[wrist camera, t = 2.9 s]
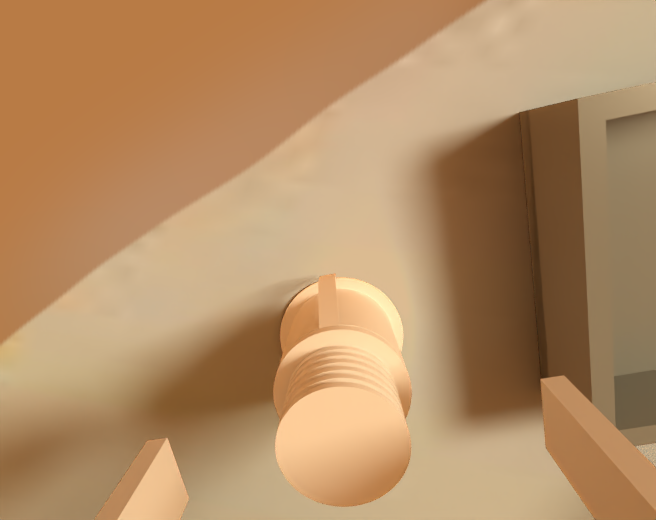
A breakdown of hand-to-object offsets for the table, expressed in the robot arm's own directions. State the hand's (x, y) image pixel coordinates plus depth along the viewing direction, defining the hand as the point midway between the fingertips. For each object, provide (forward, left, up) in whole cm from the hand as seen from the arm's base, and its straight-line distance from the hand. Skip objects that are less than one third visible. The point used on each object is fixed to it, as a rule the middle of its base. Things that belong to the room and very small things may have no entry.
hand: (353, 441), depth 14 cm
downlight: (0, 0, -10) cm, 10 cm away
